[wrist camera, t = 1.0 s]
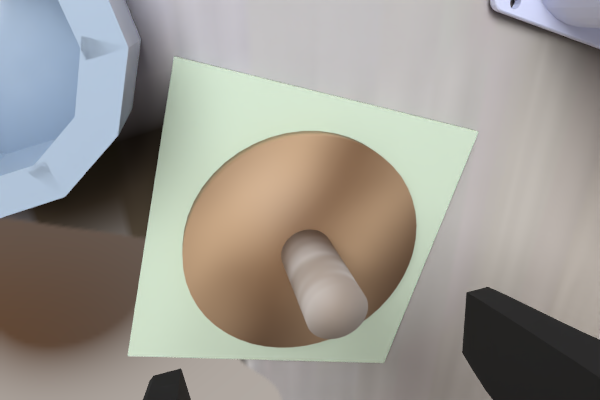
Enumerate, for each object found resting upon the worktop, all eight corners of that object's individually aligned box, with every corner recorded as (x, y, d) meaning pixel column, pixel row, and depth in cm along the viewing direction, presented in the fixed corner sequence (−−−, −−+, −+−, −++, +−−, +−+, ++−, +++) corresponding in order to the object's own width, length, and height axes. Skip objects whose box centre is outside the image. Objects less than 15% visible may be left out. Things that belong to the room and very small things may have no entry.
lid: (440, 155, 20) (516, 198, 16) (369, 340, 24) (413, 419, 19) (206, 105, 17) (216, 142, 12) (165, 332, 20) (159, 426, 16)
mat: (474, 130, 20) (478, 131, 20) (381, 359, 25) (383, 363, 25) (174, 55, 16) (174, 56, 16) (128, 351, 21) (127, 355, 20)
